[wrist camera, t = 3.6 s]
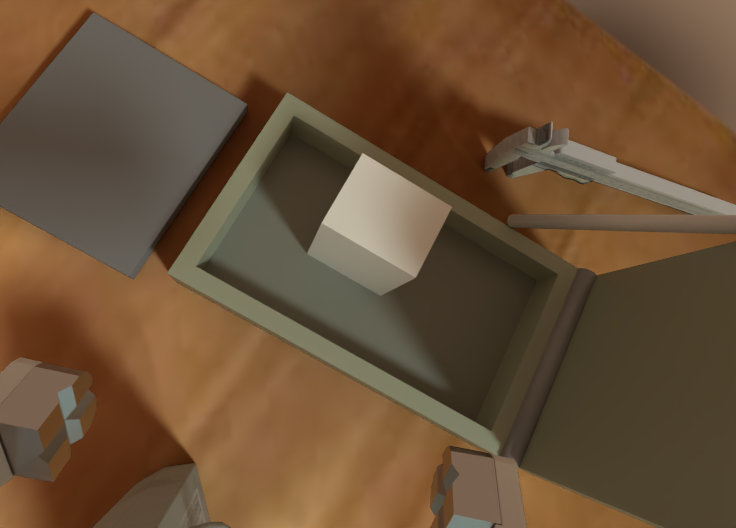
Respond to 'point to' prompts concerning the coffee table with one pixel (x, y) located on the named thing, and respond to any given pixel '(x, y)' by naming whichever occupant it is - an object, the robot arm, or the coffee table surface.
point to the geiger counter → (162, 502)
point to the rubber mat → (112, 144)
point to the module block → (379, 228)
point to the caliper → (593, 169)
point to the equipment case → (497, 327)
